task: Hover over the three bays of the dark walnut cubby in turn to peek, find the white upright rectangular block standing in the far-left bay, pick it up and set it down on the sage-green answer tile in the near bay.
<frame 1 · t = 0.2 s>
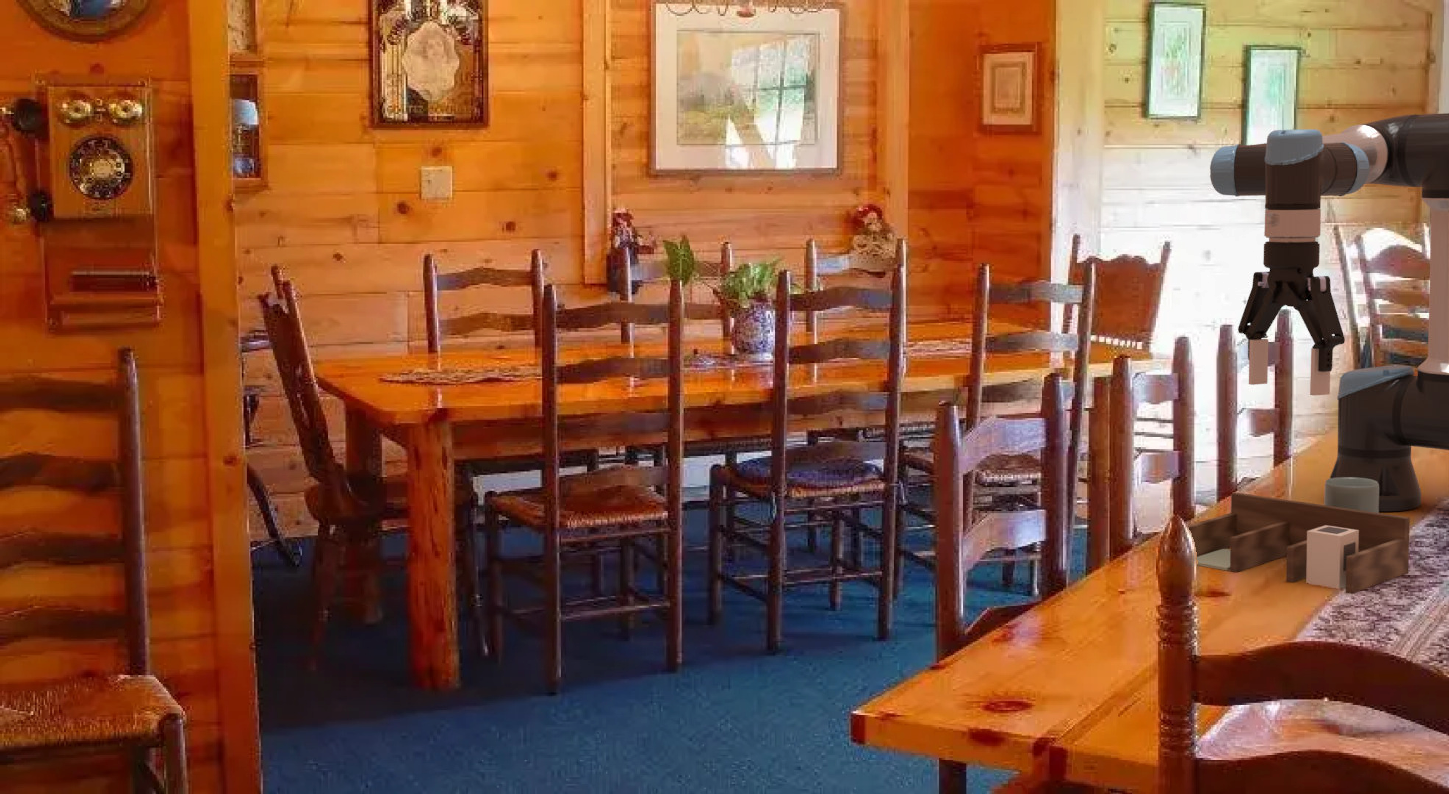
hand: (1288, 389, 250), 26 cm above the table, fingers open, 13 cm apart
cubby: (1290, 566, 255), on the table
answer tile: (1225, 560, 260), on the table
white upright rectangular block: (1331, 583, 245), on the table
cup: (1350, 547, 266), on the table
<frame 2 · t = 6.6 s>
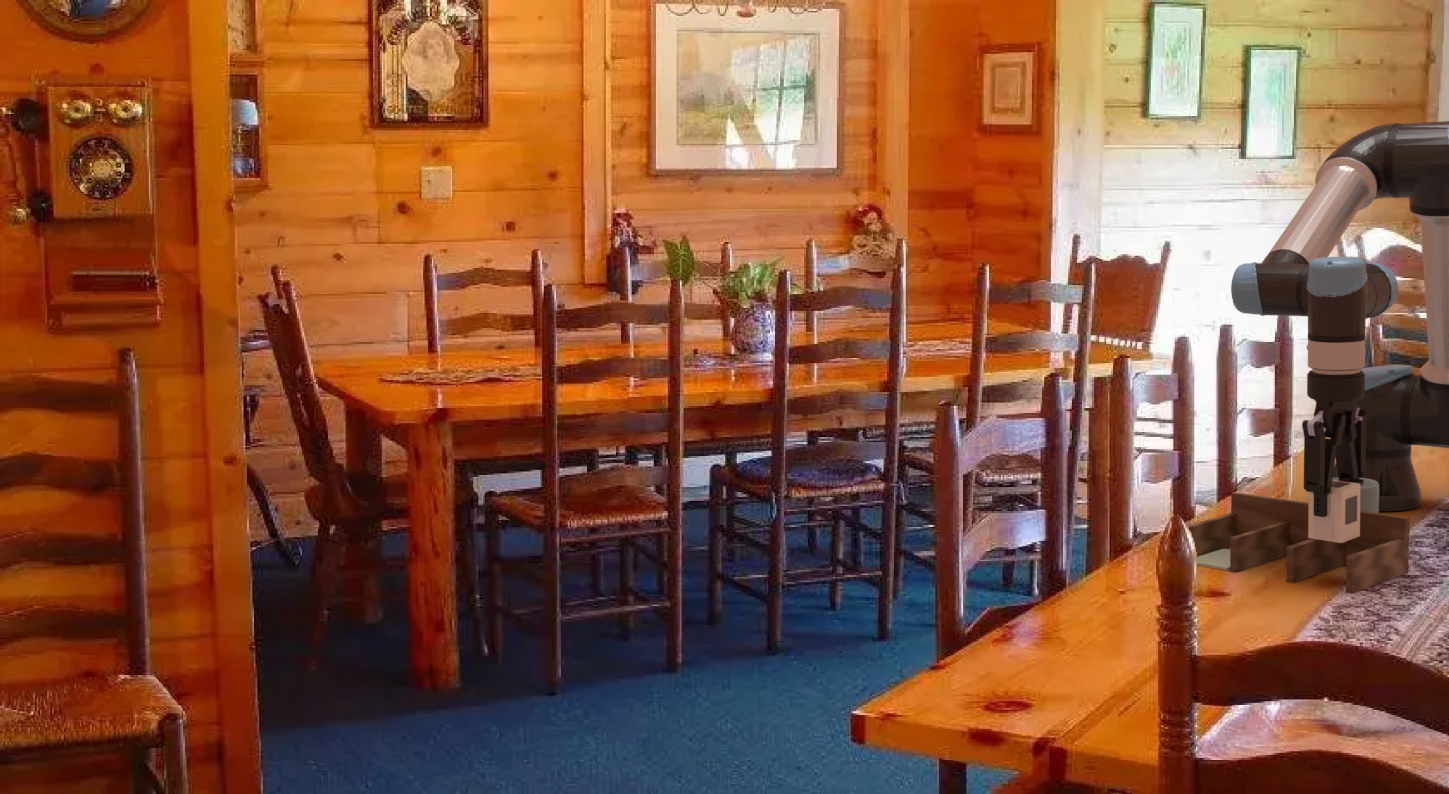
hand: (1334, 534, 245), 7 cm above the table, fingers closed on white upright rectangular block, 5 cm apart
white upright rectangular block: (1334, 537, 245), point 6 cm above the table, touching gripper
everything else where it was.
when the fingers open (1 cm above the table, at t = 11.4 s): white upright rectangular block stays where it is, resting on answer tile.
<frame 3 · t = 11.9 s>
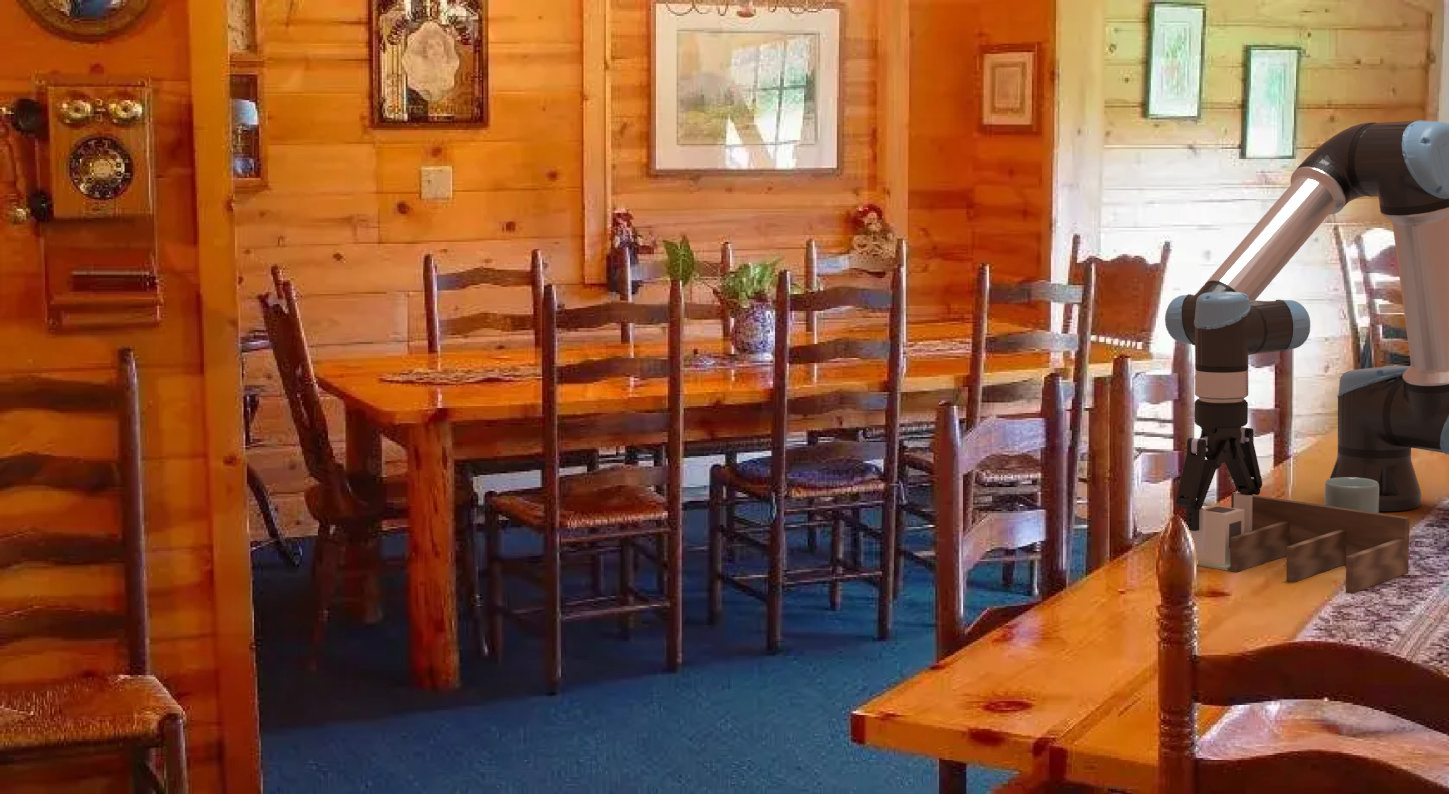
hand: (1219, 544, 258), 3 cm above the table, fingers open, 11 cm apart
white upright rectangular block: (1219, 559, 259), resting on answer tile
everything else where it was.
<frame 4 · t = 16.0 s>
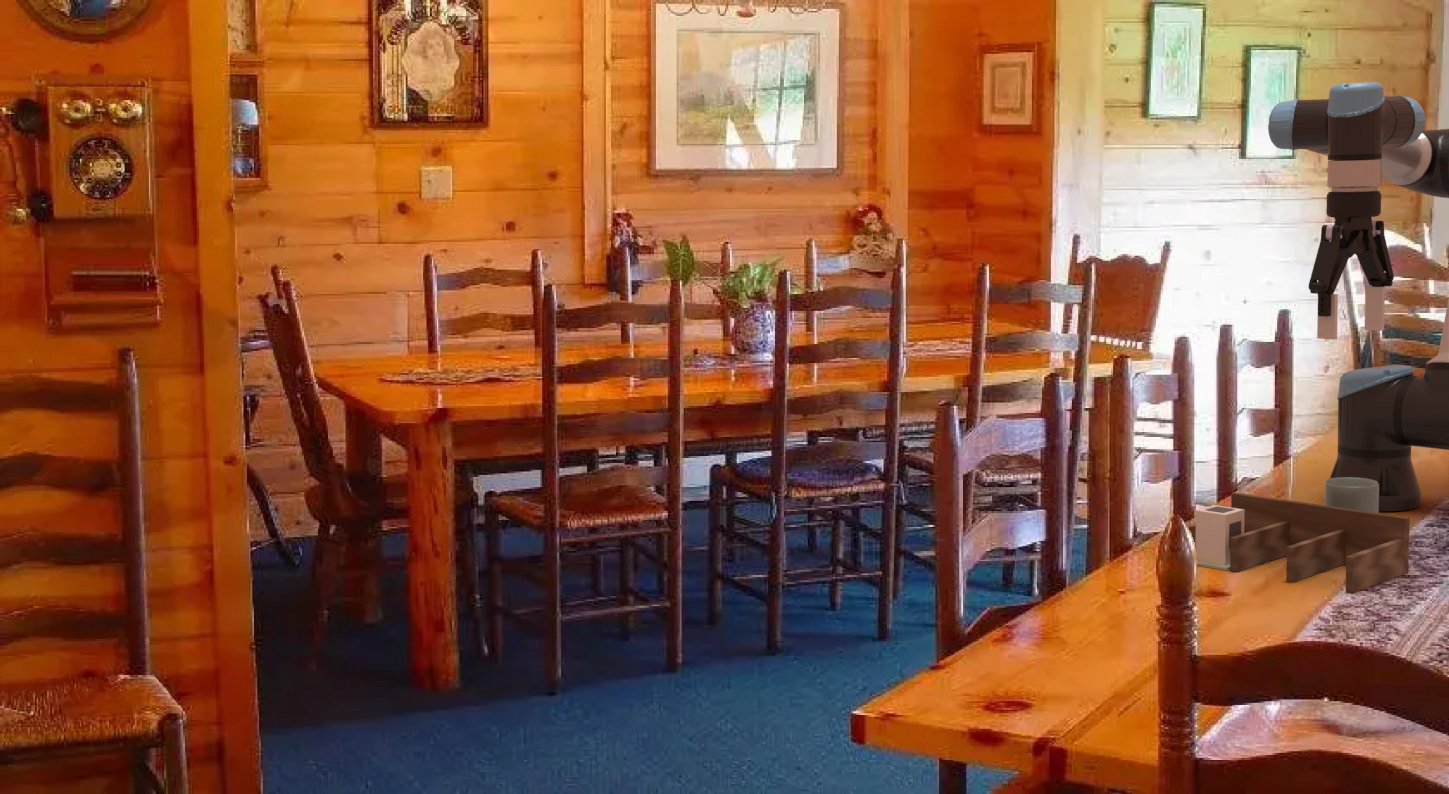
hand: (1351, 334, 259), 33 cm above the table, fingers open, 13 cm apart
nothing on the table moved.
at the end: white upright rectangular block inside the target area on the answer tile (1.4 cm from its centre), point 0.4 cm above the answer tile's base; white upright rectangular block tilted 0°; the gripper is holding nothing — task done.
